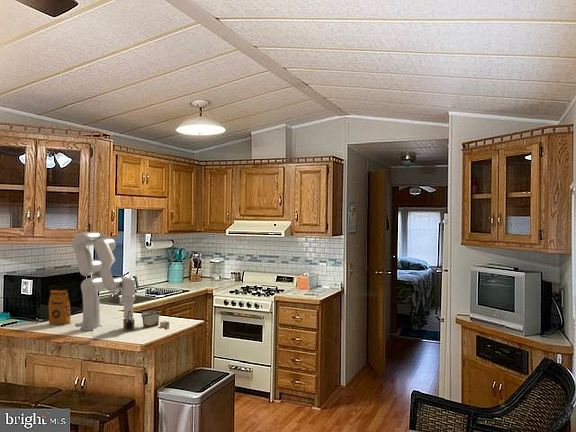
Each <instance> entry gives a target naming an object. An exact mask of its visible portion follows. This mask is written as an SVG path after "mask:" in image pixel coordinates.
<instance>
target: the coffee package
mask: <svg viewBox="0 0 576 432" xmlns="http://www.w3.org/2000/svg"><path fill="white" fill-rule="evenodd" d="M49 293H50V296H49V300H48V324H49V325H54V324H55V326H57V325H59V326H63V325H65V326H66V325H69V324H71V303H70V298H69V294H68V293H69V292H68V290H67V289H65V290H58V289H56V290H50V292H49ZM56 324H57V325H56Z"/></svg>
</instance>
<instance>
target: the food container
mask: <svg viewBox="0 0 576 432" xmlns="http://www.w3.org/2000/svg"><path fill="white" fill-rule="evenodd" d="M160 315H161V312H160V311H159V310H148V311H144V312H142V313H141V318H142V324H143V326H142V327H143V329H148V328H153V327H158V326H159V324H160Z"/></svg>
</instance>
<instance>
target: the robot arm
mask: <svg viewBox="0 0 576 432" xmlns="http://www.w3.org/2000/svg"><path fill="white" fill-rule="evenodd" d="M87 246H93V247H94V250H95V253H96V255H97V257H98V259H93V258H92V254H91V251H90V250H89V248H87ZM116 247H117V243H116V241H115V239H113V238H111V237H109V236H107V235H105V234H103V233H100V231H99V232H98V231H86V232H85V231H83V232H79V233H77V234H76V235H75V236H74V237H73V240H72V249H73V252H74V253H75V257H76V262H77V266H78V270H79V273H80V275H81V276H83V277H87V278H85V279H84V280H83V281H81V284H80V290H81V295H82V322H80V323H79V322H78V323H74V326H75V327H77V328H80V329H79V330H80V331H82V332H92V331H94V329H100V328H102V327H103V325H102V324H101V323H100V315H101V314H100V313H101V311H100V310H101V309H100V308H101V307H100V306H101V305H100V296H99V294H98V292H101V291H105V290H107V291H108V292H114V291H118V290H121V301H122V302H123V319H127V329H132V318H134V302H135V301H136V279H135V278H134V277H123V276H117V277H113V275H112V272H111V267H112V266H113V264H115V262H116V258H115V256H114V254H113V251H115V249H116ZM91 276H92V277H91Z"/></svg>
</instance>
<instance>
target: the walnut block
mask: <svg viewBox="0 0 576 432" xmlns="http://www.w3.org/2000/svg"><path fill="white" fill-rule="evenodd" d="M122 321H123V326H122V328H123V329H124V331H128V332H131V331H130V330H135V327H136V326H135V318H134V317H133V318H132V329H127V319H125V318H122Z"/></svg>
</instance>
